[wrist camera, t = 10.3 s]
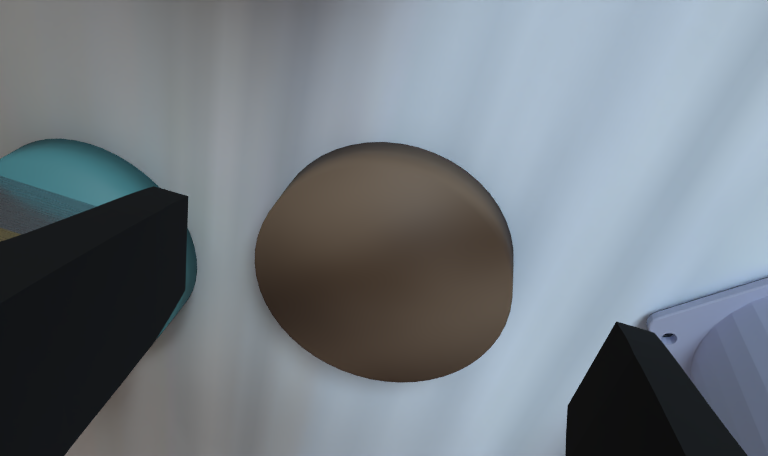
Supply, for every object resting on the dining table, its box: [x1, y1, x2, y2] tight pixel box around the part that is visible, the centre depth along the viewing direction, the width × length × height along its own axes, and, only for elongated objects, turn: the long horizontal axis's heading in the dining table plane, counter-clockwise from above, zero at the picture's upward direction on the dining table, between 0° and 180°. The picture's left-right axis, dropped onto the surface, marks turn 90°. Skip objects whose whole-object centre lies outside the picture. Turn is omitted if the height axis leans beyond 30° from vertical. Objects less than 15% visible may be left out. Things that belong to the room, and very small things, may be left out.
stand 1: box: [0, 139, 197, 338], centre depth 24 cm, size 9×9×2 cm
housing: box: [0, 176, 97, 242], centre depth 21 cm, size 7×4×5 cm, turn 167°
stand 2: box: [255, 142, 513, 382], centre depth 21 cm, size 9×9×2 cm
